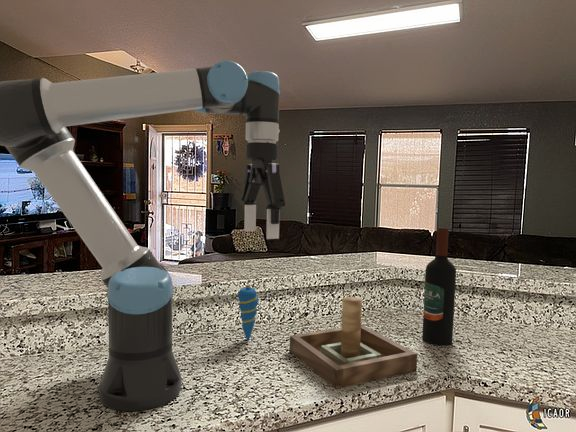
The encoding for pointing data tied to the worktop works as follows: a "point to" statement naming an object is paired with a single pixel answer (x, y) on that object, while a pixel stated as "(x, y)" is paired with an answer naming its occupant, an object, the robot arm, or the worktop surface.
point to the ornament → (248, 309)
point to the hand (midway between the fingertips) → (260, 234)
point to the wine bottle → (439, 295)
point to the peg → (351, 327)
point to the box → (347, 372)
